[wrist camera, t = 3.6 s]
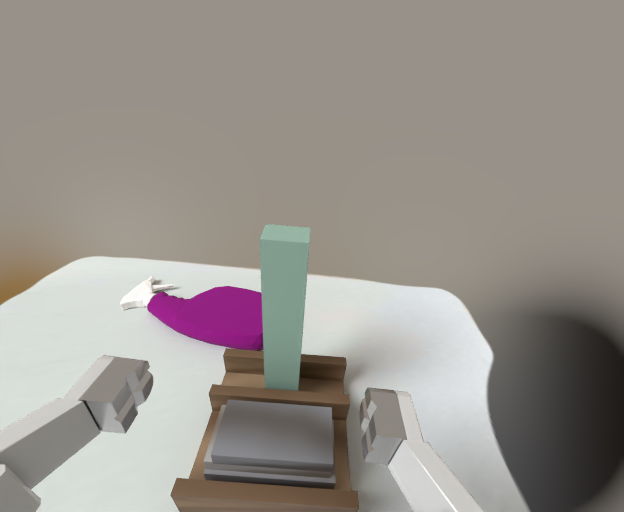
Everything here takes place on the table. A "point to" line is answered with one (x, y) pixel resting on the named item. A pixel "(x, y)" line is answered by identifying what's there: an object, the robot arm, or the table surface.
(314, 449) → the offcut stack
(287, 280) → the tall board
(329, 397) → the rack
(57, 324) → the table surface
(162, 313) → the spray bottle
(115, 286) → the table surface
